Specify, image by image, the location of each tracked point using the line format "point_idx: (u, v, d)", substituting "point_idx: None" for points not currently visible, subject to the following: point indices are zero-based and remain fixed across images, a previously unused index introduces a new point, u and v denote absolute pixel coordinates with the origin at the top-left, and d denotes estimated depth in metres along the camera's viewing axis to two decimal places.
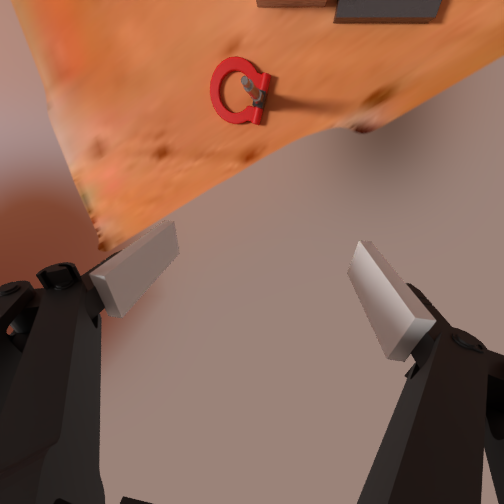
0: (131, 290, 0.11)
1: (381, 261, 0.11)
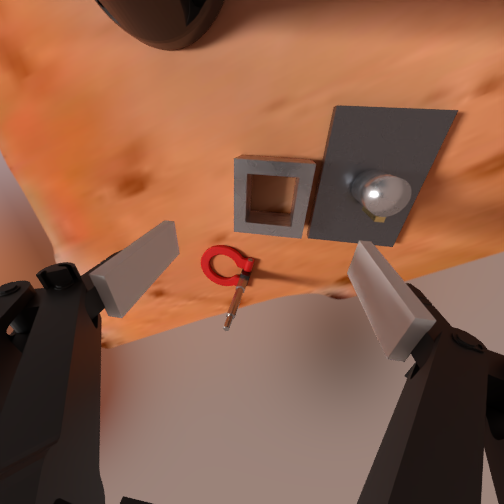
0: (131, 290, 0.11)
1: (381, 261, 0.11)
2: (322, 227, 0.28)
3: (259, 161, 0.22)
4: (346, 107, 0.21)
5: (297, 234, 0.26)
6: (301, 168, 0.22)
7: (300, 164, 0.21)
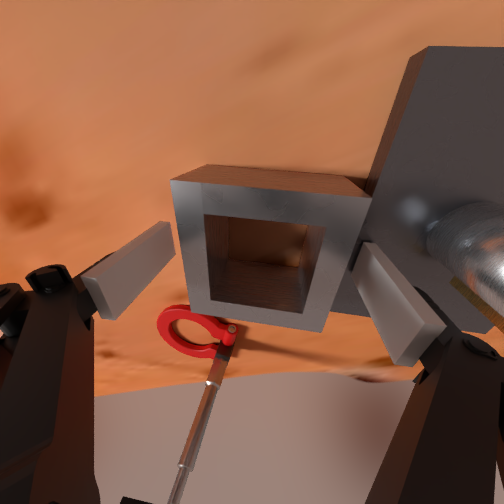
0: (125, 292, 0.10)
1: (386, 264, 0.11)
2: (357, 297, 0.15)
3: (230, 188, 0.09)
4: (454, 51, 0.08)
5: (314, 326, 0.13)
6: (332, 207, 0.09)
7: (331, 198, 0.08)
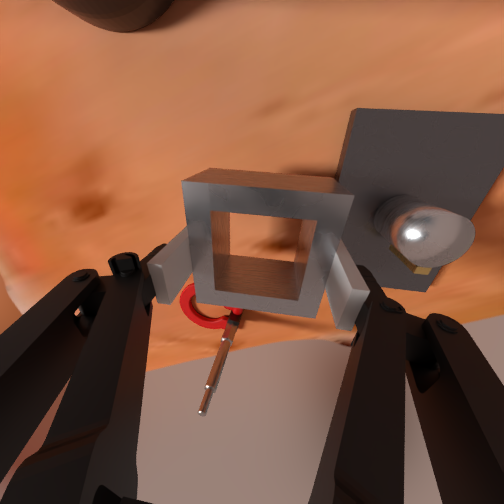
0: (177, 279, 0.11)
1: (339, 246, 0.12)
2: None
3: (233, 187, 0.10)
4: (371, 110, 0.15)
5: (308, 312, 0.14)
6: (321, 203, 0.10)
7: (320, 195, 0.10)
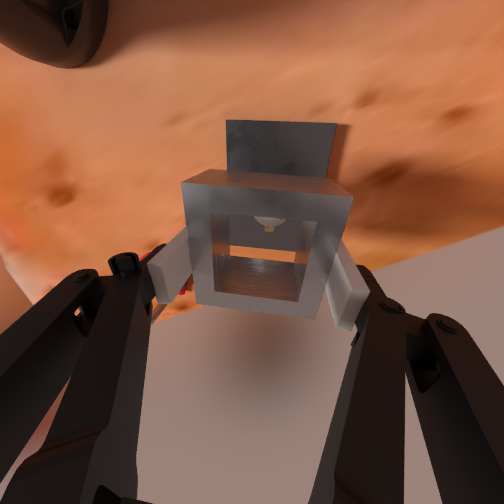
0: (177, 279, 0.11)
1: (339, 246, 0.12)
2: (240, 234, 0.29)
3: (233, 189, 0.10)
4: (235, 121, 0.22)
5: (308, 313, 0.14)
6: (321, 205, 0.10)
7: (320, 197, 0.10)
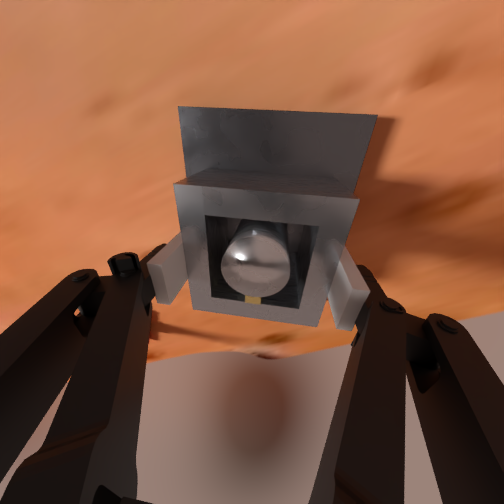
0: (176, 279, 0.11)
1: None
2: None
3: (229, 191, 0.10)
4: (194, 109, 0.12)
5: (310, 320, 0.14)
6: (323, 208, 0.09)
7: (323, 199, 0.09)
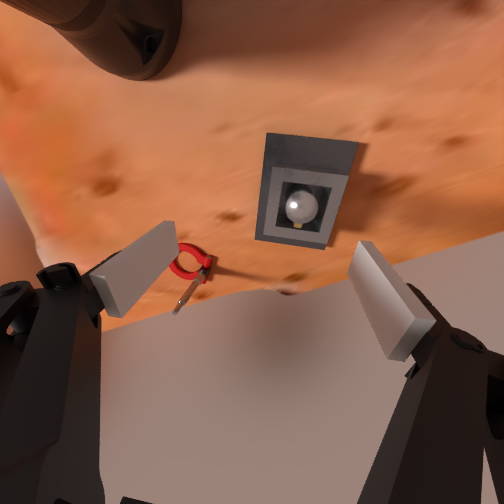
0: (131, 290, 0.11)
1: (381, 261, 0.11)
2: None
3: (296, 170, 0.23)
4: (274, 134, 0.26)
5: (323, 240, 0.27)
6: (334, 179, 0.23)
7: (334, 175, 0.23)
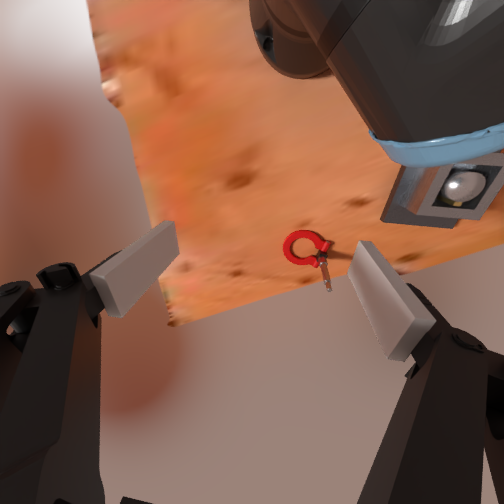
0: (131, 290, 0.11)
1: (381, 261, 0.11)
2: (397, 213, 0.36)
3: None
4: None
5: (477, 216, 0.30)
6: None
7: None
